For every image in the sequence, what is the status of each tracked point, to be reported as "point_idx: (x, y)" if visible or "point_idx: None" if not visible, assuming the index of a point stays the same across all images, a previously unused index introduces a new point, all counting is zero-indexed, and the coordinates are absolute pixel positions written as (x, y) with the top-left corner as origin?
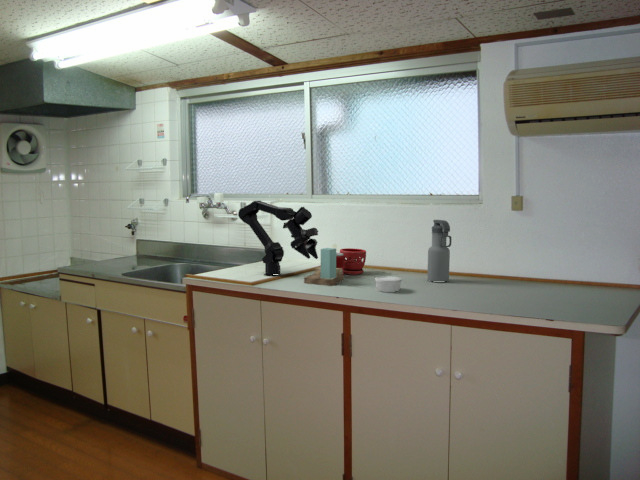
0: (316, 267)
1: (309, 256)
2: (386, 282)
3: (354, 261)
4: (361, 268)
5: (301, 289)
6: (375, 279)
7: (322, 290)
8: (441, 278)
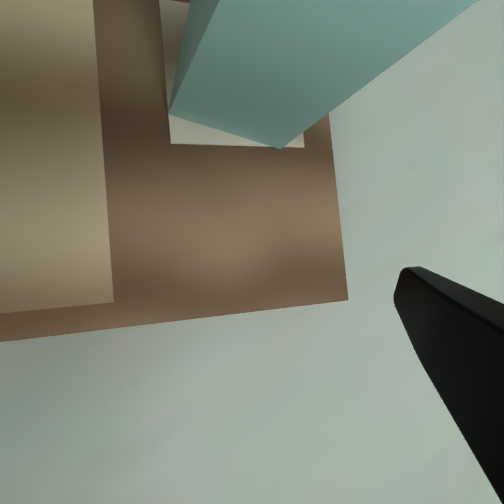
0: (70, 299)
1: (437, 274)
2: None
3: None
4: None
5: (492, 207)
6: None
7: (456, 64)
8: None
